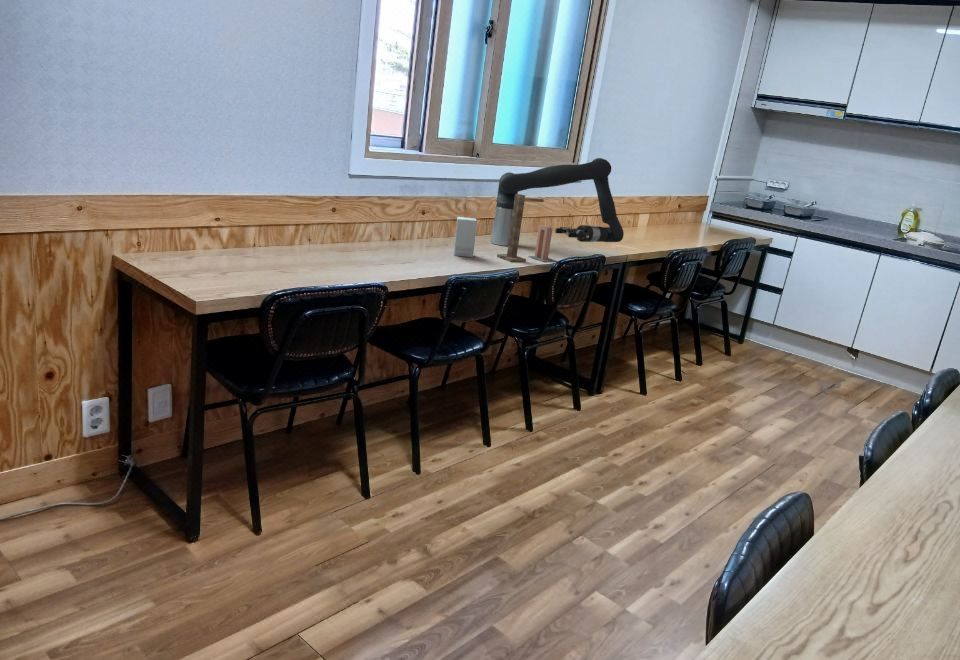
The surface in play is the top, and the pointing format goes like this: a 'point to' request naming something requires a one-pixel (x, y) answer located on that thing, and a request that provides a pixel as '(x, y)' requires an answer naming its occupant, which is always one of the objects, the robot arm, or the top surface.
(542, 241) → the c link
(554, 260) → the mat
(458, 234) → the skincare box
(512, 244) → the stand
